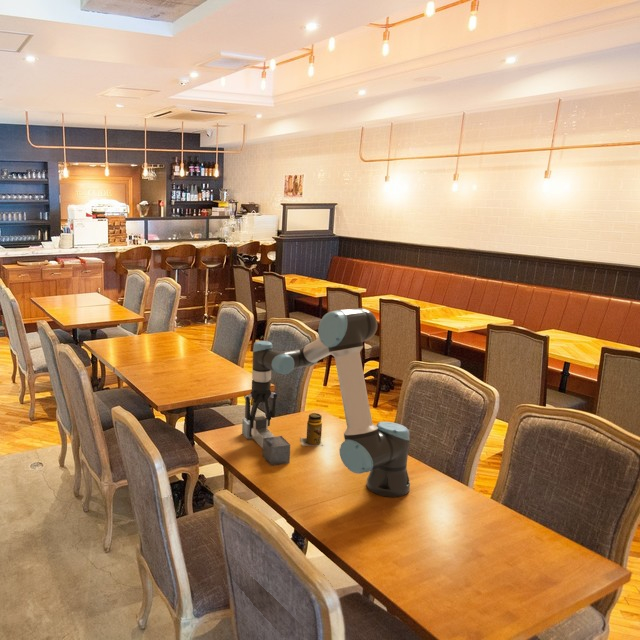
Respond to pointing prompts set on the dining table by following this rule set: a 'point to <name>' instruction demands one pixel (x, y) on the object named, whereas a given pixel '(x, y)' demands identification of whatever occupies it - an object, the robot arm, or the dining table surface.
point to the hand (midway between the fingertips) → (259, 434)
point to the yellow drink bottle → (313, 431)
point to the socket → (246, 429)
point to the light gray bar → (261, 430)
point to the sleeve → (276, 450)
